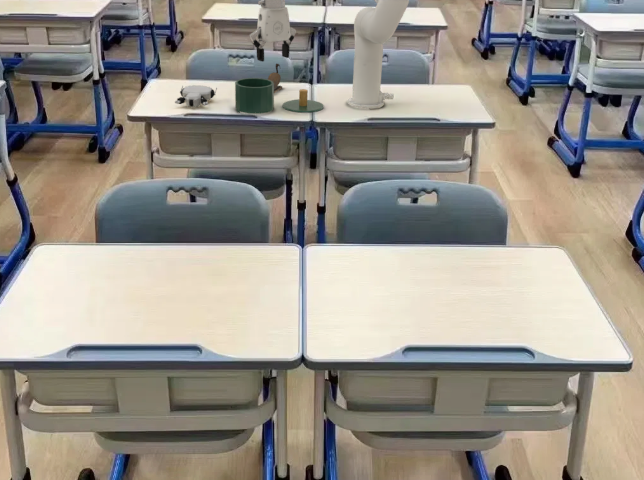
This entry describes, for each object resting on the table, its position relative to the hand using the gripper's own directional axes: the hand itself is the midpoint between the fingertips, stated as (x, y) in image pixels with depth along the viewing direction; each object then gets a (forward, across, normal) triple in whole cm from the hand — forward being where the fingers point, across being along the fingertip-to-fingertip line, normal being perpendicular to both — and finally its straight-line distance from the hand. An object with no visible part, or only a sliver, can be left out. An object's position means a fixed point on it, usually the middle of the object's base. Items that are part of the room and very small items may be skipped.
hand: (273, 58), depth 265 cm
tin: (+16, -6, +3) cm, 18 cm away
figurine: (+17, +14, +21) cm, 30 cm away
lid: (+16, +9, -4) cm, 19 cm away
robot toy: (+17, -19, +19) cm, 32 cm away
